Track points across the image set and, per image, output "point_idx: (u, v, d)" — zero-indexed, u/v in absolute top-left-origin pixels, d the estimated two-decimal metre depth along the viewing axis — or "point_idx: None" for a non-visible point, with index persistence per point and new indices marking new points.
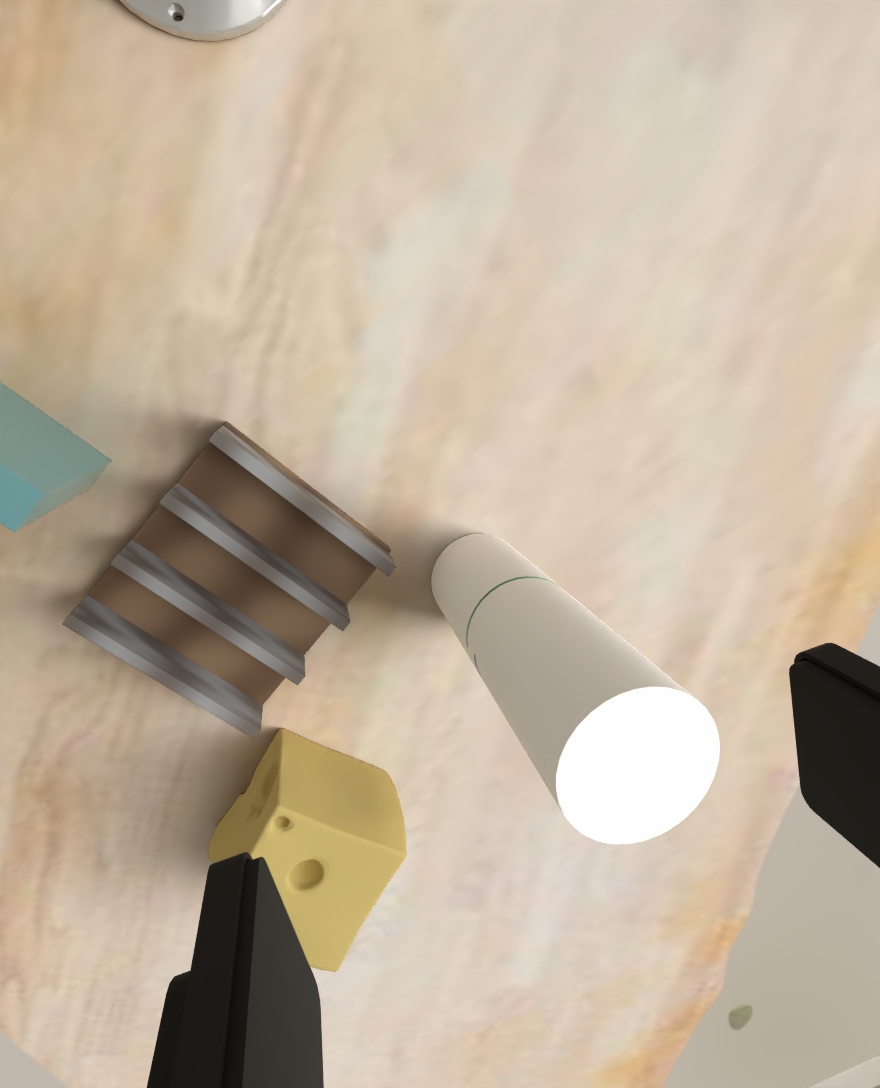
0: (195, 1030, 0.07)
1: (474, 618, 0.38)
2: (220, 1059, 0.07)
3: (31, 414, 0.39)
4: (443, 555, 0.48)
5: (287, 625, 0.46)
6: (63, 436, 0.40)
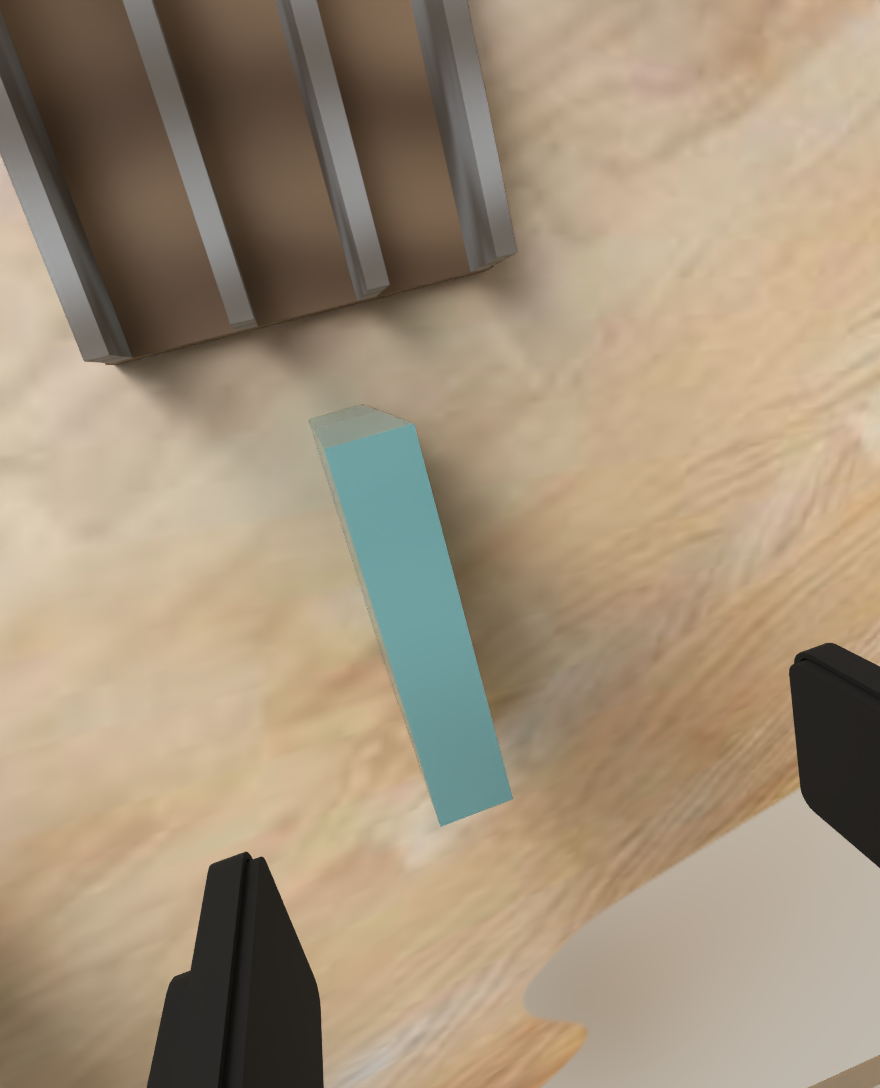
0: (195, 1030, 0.07)
1: None
2: (220, 1059, 0.07)
3: (344, 533, 0.27)
4: None
5: None
6: (329, 486, 0.27)
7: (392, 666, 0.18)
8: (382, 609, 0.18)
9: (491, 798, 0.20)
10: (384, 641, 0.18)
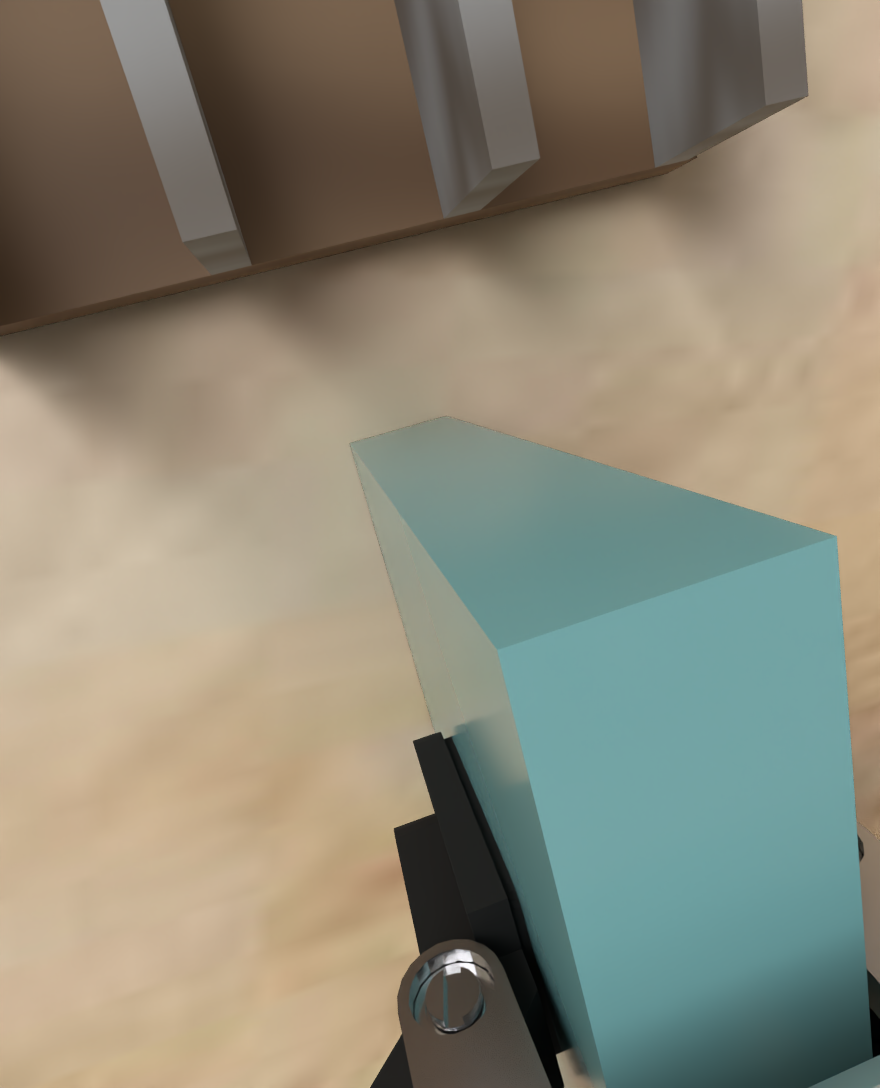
0: (458, 840, 0.09)
1: None
2: (490, 855, 0.08)
3: (415, 654, 0.15)
4: None
5: None
6: (390, 570, 0.14)
7: None
8: None
9: None
10: None
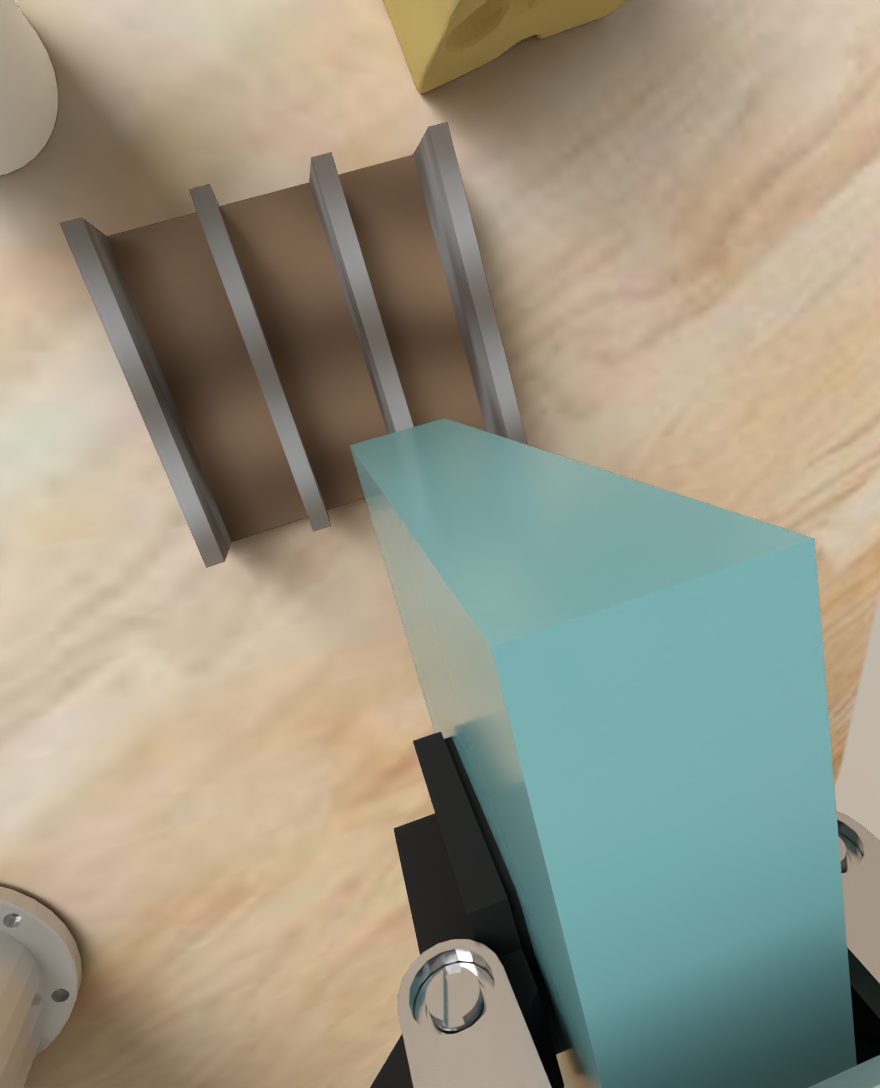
0: (458, 840, 0.09)
1: None
2: (490, 855, 0.08)
3: (414, 653, 0.15)
4: None
5: (303, 245, 0.29)
6: (390, 571, 0.15)
7: None
8: None
9: None
10: None
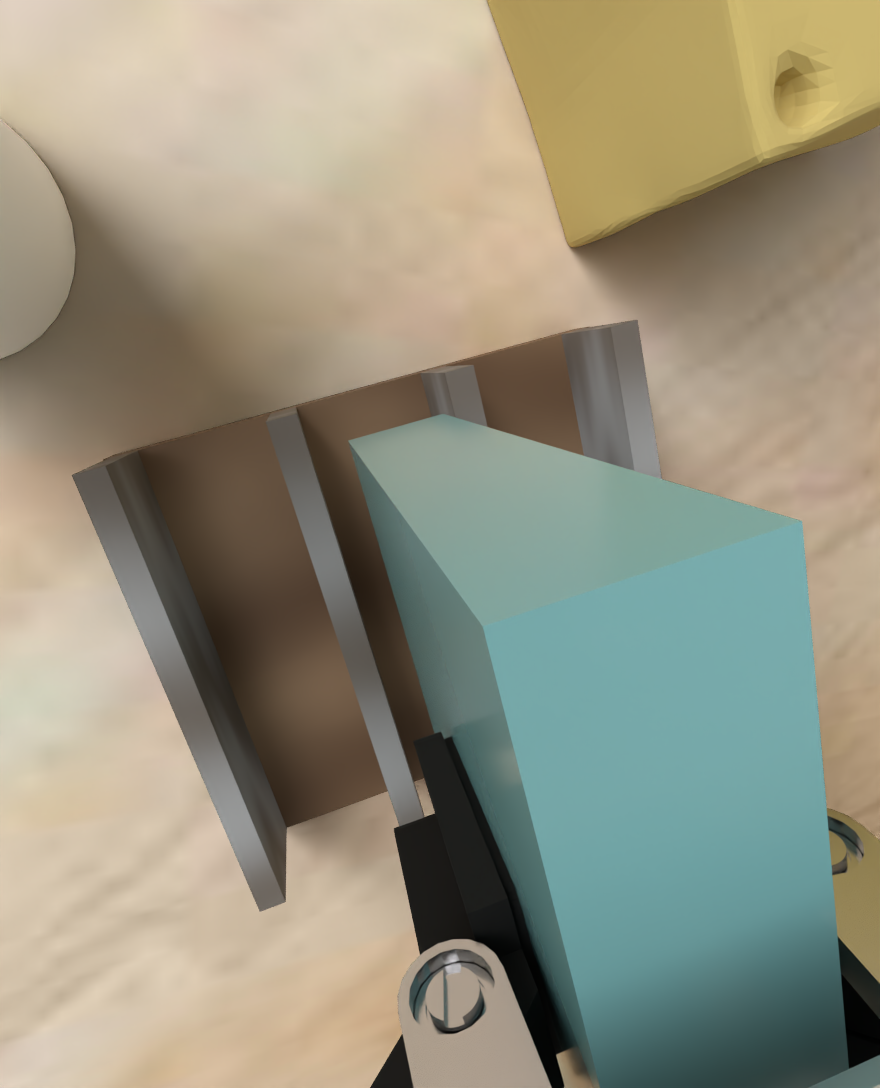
0: (458, 840, 0.09)
1: None
2: (491, 855, 0.08)
3: (412, 647, 0.15)
4: None
5: None
6: (388, 565, 0.15)
7: None
8: (625, 1085, 0.06)
9: None
10: None
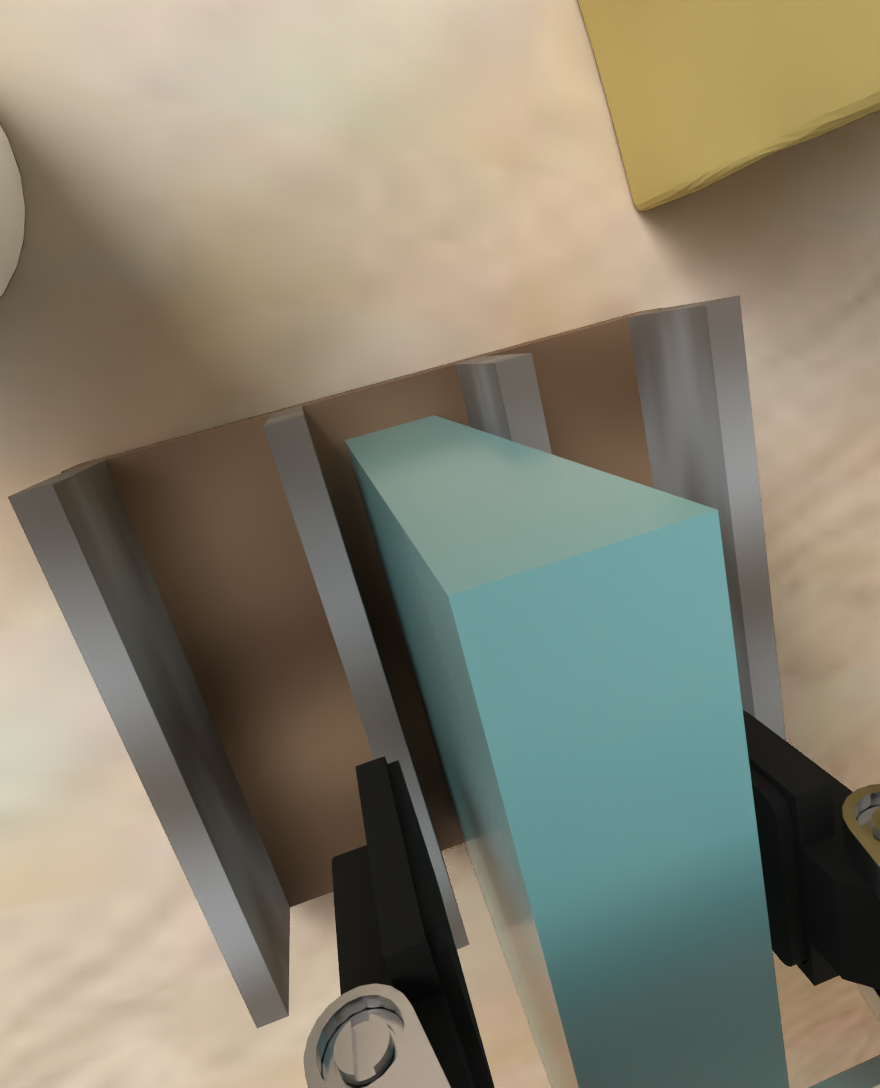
0: (385, 875, 0.08)
1: None
2: (414, 893, 0.08)
3: (405, 636, 0.16)
4: None
5: None
6: (382, 558, 0.16)
7: None
8: (577, 999, 0.07)
9: None
10: (577, 1070, 0.07)
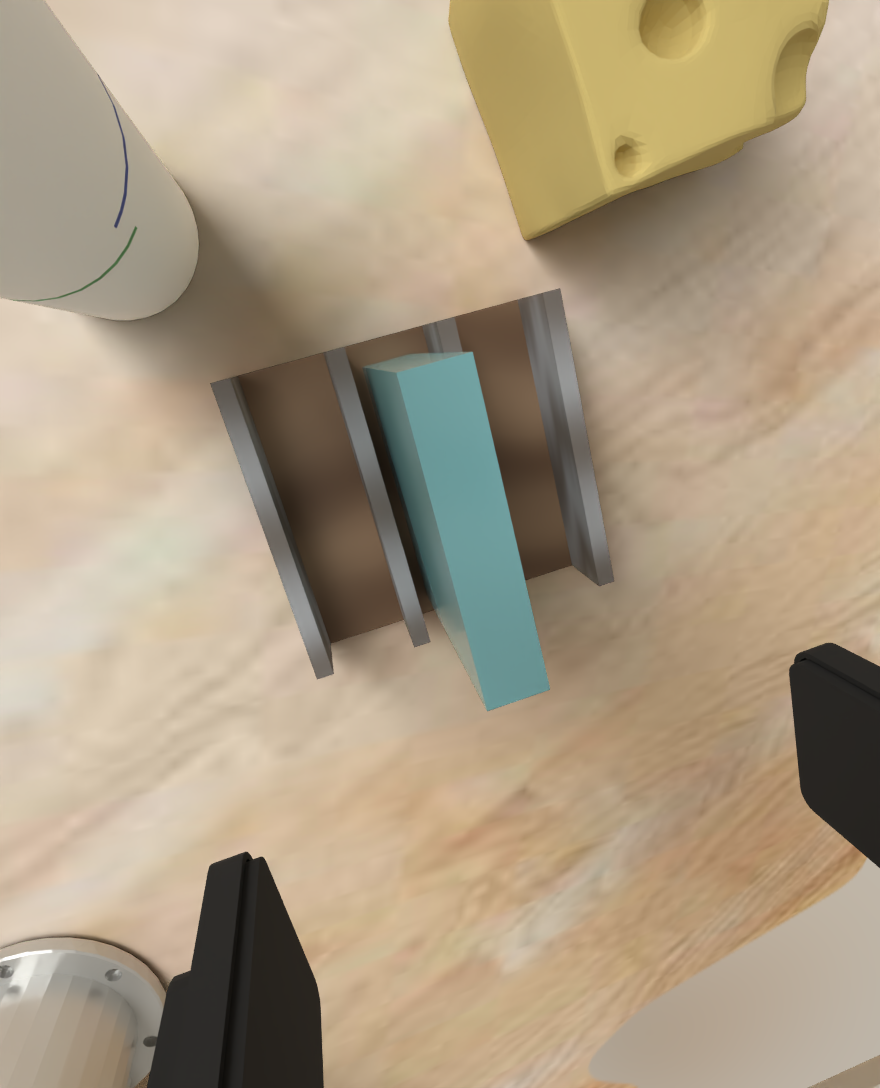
0: (195, 1030, 0.07)
1: (87, 280, 0.19)
2: (221, 1059, 0.07)
3: (394, 469, 0.30)
4: (143, 316, 0.29)
5: None
6: (382, 427, 0.30)
7: (449, 566, 0.21)
8: (441, 515, 0.21)
9: (531, 687, 0.23)
10: (443, 543, 0.21)
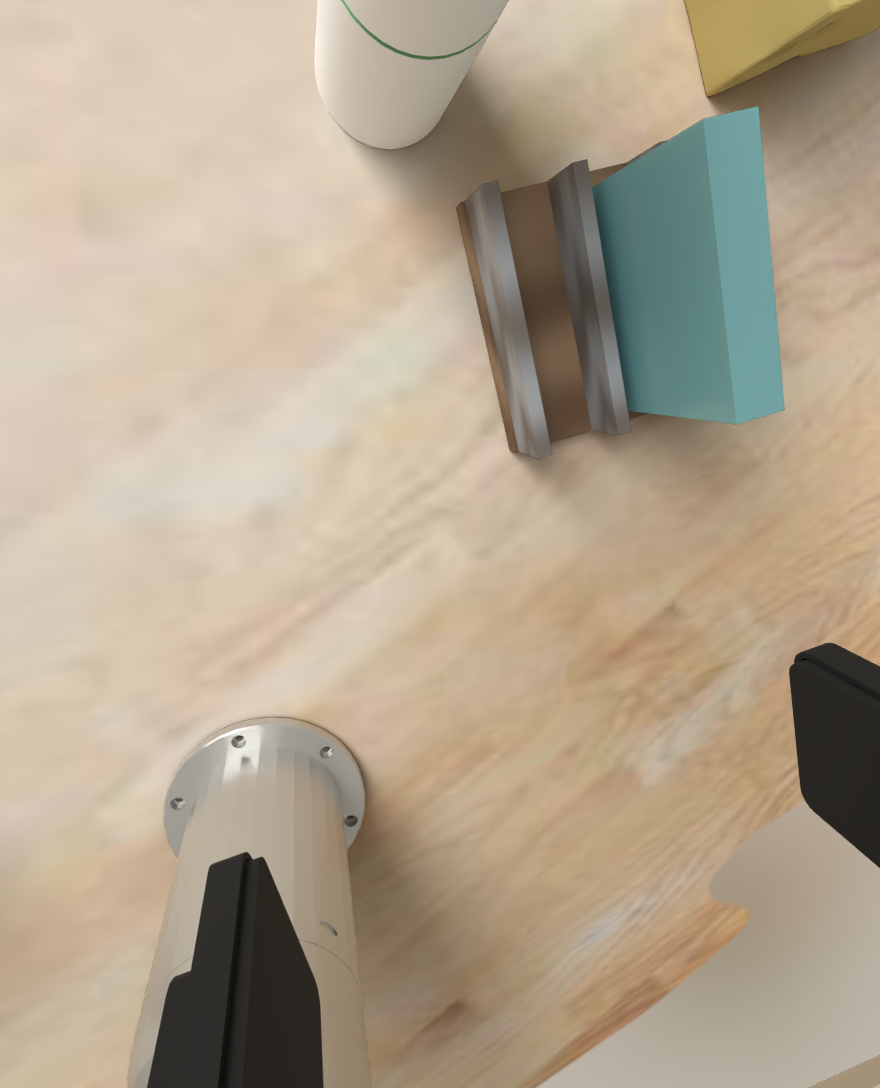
0: (195, 1030, 0.07)
1: (474, 39, 0.24)
2: (220, 1059, 0.07)
3: (607, 280, 0.36)
4: (406, 142, 0.34)
5: None
6: None
7: (722, 290, 0.27)
8: (721, 244, 0.27)
9: (770, 406, 0.29)
10: (720, 270, 0.27)
